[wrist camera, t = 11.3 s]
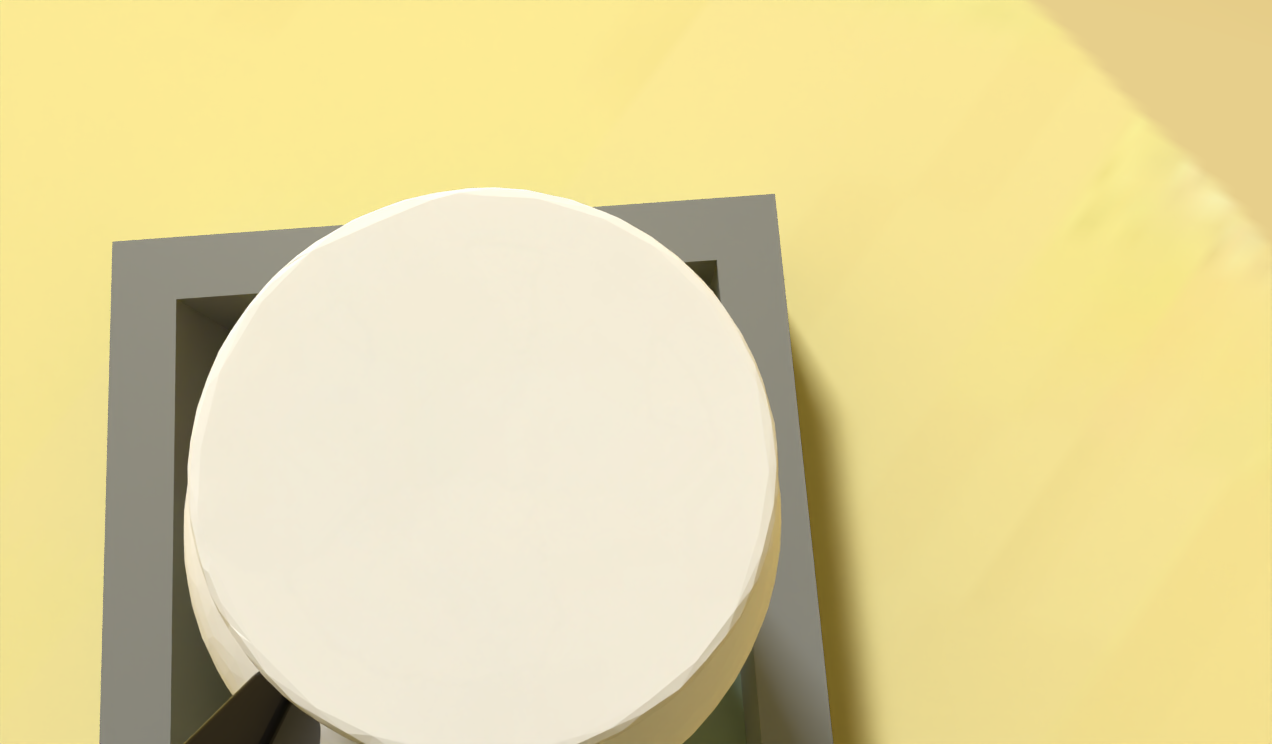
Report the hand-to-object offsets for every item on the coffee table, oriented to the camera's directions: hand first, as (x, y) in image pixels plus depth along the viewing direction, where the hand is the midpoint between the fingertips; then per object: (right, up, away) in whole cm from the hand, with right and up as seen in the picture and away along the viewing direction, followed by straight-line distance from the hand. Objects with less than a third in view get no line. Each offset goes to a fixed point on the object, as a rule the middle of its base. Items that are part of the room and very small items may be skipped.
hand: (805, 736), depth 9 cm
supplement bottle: (-4, -1, +11) cm, 12 cm away
